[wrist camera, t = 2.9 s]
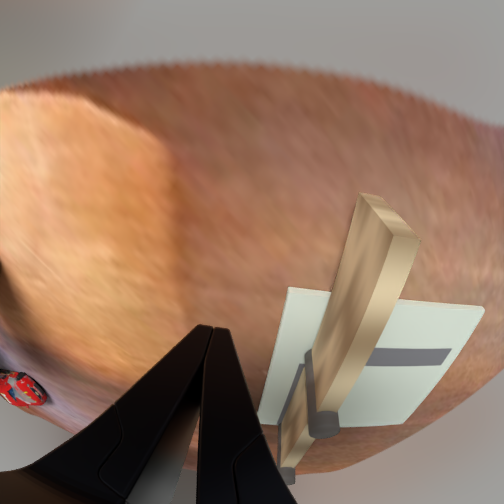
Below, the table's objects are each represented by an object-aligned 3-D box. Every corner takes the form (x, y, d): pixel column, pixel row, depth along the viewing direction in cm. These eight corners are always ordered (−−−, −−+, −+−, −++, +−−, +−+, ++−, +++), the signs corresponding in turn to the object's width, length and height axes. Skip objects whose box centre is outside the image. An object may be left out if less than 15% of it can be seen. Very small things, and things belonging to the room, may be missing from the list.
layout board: (401, 419, 26) (402, 424, 25) (255, 418, 26) (255, 423, 25) (481, 306, 18) (485, 311, 17) (288, 286, 18) (288, 293, 17)
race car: (32, 370, 28) (18, 392, 25) (55, 397, 31) (44, 418, 27) (-8, 364, 31) (-19, 381, 27) (12, 387, 33) (2, 404, 29)
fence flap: (325, 364, 20) (334, 438, 15) (301, 362, 20) (305, 438, 15) (384, 196, 14) (439, 254, 9) (352, 189, 14) (396, 247, 9)
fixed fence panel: (293, 423, 26) (292, 485, 20) (277, 422, 26) (274, 484, 20) (321, 361, 21) (329, 442, 15) (300, 360, 21) (304, 442, 15)
